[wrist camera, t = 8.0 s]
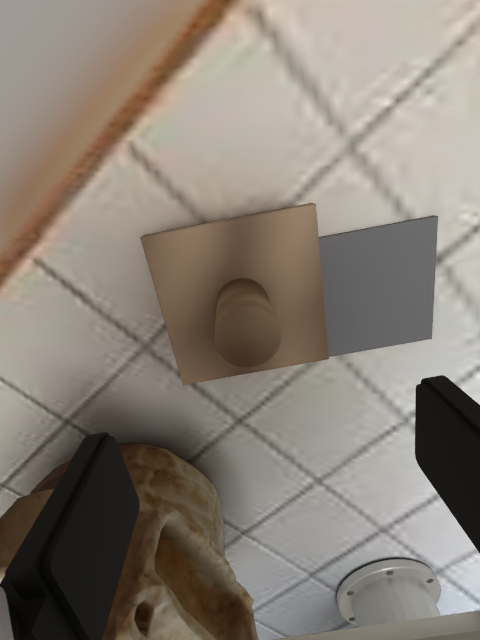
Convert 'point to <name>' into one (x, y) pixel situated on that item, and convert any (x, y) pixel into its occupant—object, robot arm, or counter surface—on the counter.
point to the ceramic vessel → (160, 554)
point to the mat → (379, 285)
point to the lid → (241, 293)
